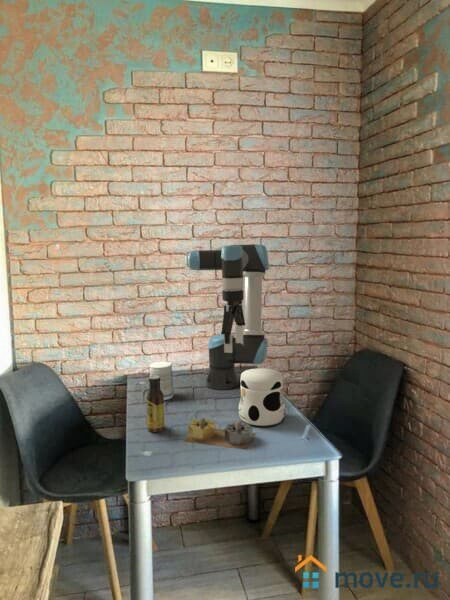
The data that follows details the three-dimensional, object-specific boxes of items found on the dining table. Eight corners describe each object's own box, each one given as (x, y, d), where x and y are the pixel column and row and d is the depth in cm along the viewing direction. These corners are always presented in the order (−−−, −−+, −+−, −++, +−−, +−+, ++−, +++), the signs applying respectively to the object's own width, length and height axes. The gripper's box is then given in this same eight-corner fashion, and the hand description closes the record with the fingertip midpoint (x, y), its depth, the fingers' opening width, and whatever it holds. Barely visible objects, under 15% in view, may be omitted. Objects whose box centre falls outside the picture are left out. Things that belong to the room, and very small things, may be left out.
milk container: (231, 416, 174) (230, 370, 172) (272, 409, 181) (272, 365, 178) (250, 434, 158) (249, 384, 156) (294, 426, 165) (294, 378, 162)
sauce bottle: (145, 427, 166) (143, 375, 163) (162, 424, 168) (160, 372, 165) (150, 434, 160) (147, 380, 157) (167, 431, 163) (165, 377, 160)
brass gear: (195, 428, 162) (194, 417, 161) (218, 431, 159) (217, 420, 159) (185, 439, 154) (185, 427, 153) (209, 442, 151) (209, 430, 151)
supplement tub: (177, 398, 195) (176, 364, 193) (157, 403, 190) (155, 369, 187) (167, 391, 203) (165, 359, 201) (147, 396, 198) (145, 363, 195)
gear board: (196, 429, 164) (196, 410, 163) (256, 436, 157) (255, 416, 156) (183, 444, 152) (182, 424, 151) (247, 452, 146) (246, 431, 145)
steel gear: (230, 432, 158) (230, 421, 157) (254, 435, 155) (254, 424, 155) (222, 443, 150) (222, 432, 149) (247, 446, 147) (247, 435, 147)
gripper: (233, 284, 175) (234, 338, 178) (210, 294, 151) (212, 356, 155) (252, 285, 172) (252, 339, 176) (232, 294, 149) (233, 357, 152)
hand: (234, 347), depth 165 cm, fingers open, 13 cm apart
